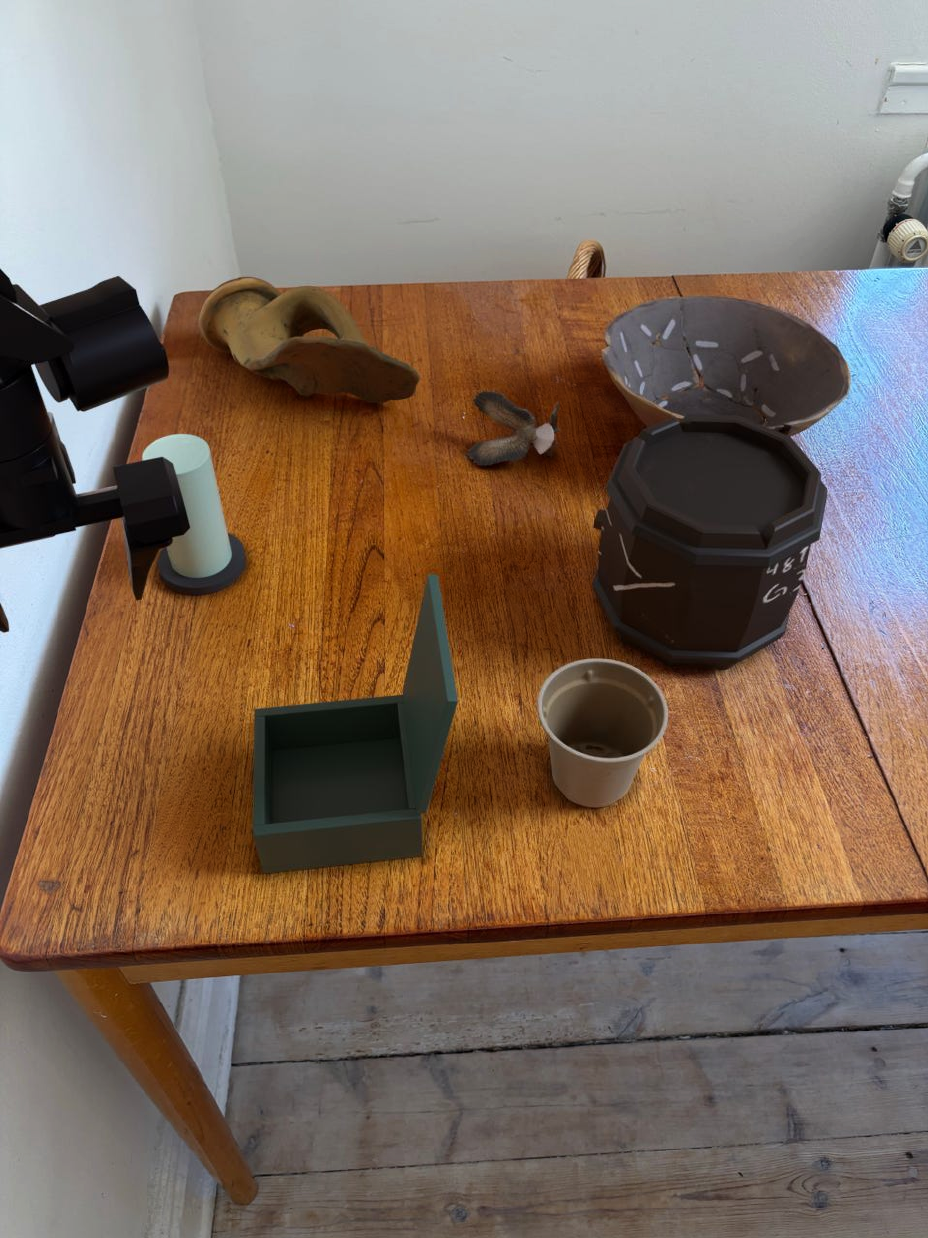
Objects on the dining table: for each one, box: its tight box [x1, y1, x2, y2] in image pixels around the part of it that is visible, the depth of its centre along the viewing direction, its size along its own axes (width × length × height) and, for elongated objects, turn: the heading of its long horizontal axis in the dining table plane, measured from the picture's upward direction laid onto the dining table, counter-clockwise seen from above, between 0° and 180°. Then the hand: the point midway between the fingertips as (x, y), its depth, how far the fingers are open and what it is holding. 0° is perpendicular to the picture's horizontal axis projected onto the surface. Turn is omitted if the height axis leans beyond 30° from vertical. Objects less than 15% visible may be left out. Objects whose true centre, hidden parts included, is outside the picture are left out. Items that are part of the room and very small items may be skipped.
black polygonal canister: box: [591, 414, 828, 671], centre depth 86 cm, size 18×18×16 cm
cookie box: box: [252, 694, 424, 875], centre depth 75 cm, size 12×11×5 cm
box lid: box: [401, 573, 459, 815], centre depth 69 cm, size 12×11×1 cm
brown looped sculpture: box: [198, 276, 421, 404], centre depth 110 cm, size 18×13×22 cm
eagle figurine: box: [467, 390, 562, 467], centre depth 105 cm, size 8×7×9 cm
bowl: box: [601, 295, 852, 438], centre depth 106 cm, size 25×25×10 cm
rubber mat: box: [157, 532, 247, 596], centre depth 94 cm, size 8×8×1 cm
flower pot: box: [536, 658, 669, 808], centre depth 76 cm, size 9×9×9 cm
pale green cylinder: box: [141, 433, 232, 578], centre depth 90 cm, size 6×6×12 cm
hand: (73, 611), depth 73 cm, fingers open, 9 cm apart
